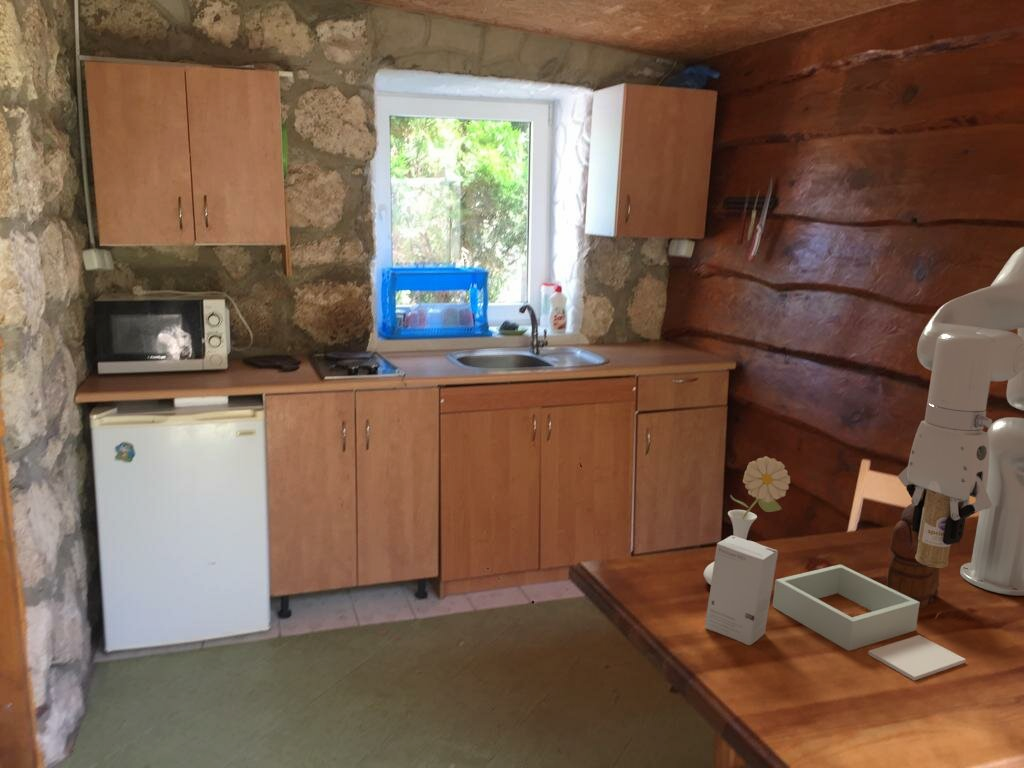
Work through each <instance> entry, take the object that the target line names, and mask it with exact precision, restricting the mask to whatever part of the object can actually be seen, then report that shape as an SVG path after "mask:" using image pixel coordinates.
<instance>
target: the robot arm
mask: <svg viewBox="0 0 1024 768" xmlns="http://www.w3.org/2000/svg"><path fill="white" fill-rule="evenodd" d="M1013 330H1017V333H1014V332H1013ZM916 355H917V359H918V361H919V364H920V365H922V366H923V368H925V369H927V370H929V371H931V375H930V383H929V388H928V394H927V402H926V408H925V416H924V420H921V421H920V423H919V426H918V427H917V430H916V433H915V437H914V438H913V442H912V446H911V449H910V454H909V459H908V464H907V466H906V467H905V468H904V469H903V470H902V471H901V472H900V473H899V474H898V477H897V479H898V480H899V481H900V483H902V485H903V486H904V487H905V489H906V491H907V493H908V495H909V496H910V498H911V500H910V501H911V504H913V505H915V507H914V513H913V520H912V522H913V527H912V531H914V532H919V530H920V524H921V517H922V511H923V506H924V502H925V496H926V489H927V490H928V485H929V484H930V482H931V481H936V482H937V483H938V484H939V487H940V490H941V493H940V494H942V495H944V496H946V497H949V498H950V510H951V517H950V518H947V519H946V524H945V531H944V537H943V542H944V544H947V545H950V544H951V545H953V544H958V543H960V542H961V540H962V538H963V536H964V529H965V523H966V519H968V518H970V517H971V516H972V515H974V514H976V513H978V512H979V514H978V519H977V520H978V521H977V525H976V530H975V531H976V532H975V537H974V544H973V550H972V555H971V561H970V562H967V563H966V562H965V563H964V564H963V565H961V566H960V571H959V572H960V576H961V577H962V579H964V580H965V581H967V582H968V583H969V584H972V585H974V586H975V587H978V588H981V589H983V590H986V591H989V592H993V593H997V594H1001V595H1007V596H1014V597H1015V596H1018V597H1020V596H1021V597H1022V596H1024V418H1023V417H1010V416H1009V417H1008V416H1007V417H1002V418H998V419H997V420H995V421H994V422H993V420H992V418H989V417H988V416H987V410H986V409H987V404H988V400H989V399H988V398H989V393H990V387H991V386H990V385H991V382H1005V381H1007V386H1006V400H1007V403H1009V405H1010V406H1012V407H1013V408H1016V409H1018V410H1020V411H1024V246H1022V247H1020V248H1019V249H1017V250H1016V251H1015V252H1013V254H1012V255H1011V256H1010V258H1008V260H1007V261H1006V262H1005V264H1004V266H1003V267H1002V269H1001V270H1000V272H999V273H998V274H997V275H996V278H995V279H994V280H993V281H992V283H991V284H990V286H987V287H983V288H979V289H978V290H974V291H971V292H969V293H967V294H964V295H962V296H958V297H956V298H954V299H951V300H949V301H948V302H946V303H944V304H943V305H942V306H940V307H939V308H938V309H937V311H936V312H935V313H934V314H933V315H932V316H931V318H930V319H929V321H928V322H927V324H926V325H925V327H924V329H923V330H922V332H921V335H920V336H919V339H918V342H917V347H916ZM985 428H988V429H987V431H984V429H985ZM970 497H972V498H974V499H975V501H974V502H973V503H970ZM951 545H950V546H951Z"/></svg>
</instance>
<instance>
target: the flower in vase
mask: <svg viewBox="0 0 1024 768" xmlns="http://www.w3.org/2000/svg"><path fill="white" fill-rule="evenodd" d="M785 467H786V466H785V464H783V462H781V461H777V459H776V458H770V457H768V456H764V457H759V458H757V459H756V460H753V461H750V462H749V463H748V465H747V466H746V470H745V471H744V475H743V479H742V483H743V484H745V485H744V487H745V489H747V491H748V492H747V493H748V495H749V496H752V497H753V498H755V501H754V502H753V503H752V504H751V506H748V505H747V504H746V503H745V502H743V501H740V500H738V499H736V498H734V497H733V495H732V494H730V498H731V500H733V501H734V502H736V503H738V504H739V505H742V506H743V507H746V508H747V510H744V509H733V510H729V511H728V512H727V515H728V516H729V518H730V521H731V524H732V529H733V533H732V534H733V536H736V537H739V538H742V539H745V540H747V537H748V533H749V531H750V527H751V526H752V524H753V523H754V521H755V520H757V518H758V516H757V514H755V513H753V512H751V510H752V508H753V507H754V506H755V505H756V504H758V506H759V507H760V508H761V510H763V512H767V513H771V512H777V511H781V510H782V506H781V505H780V504H779V503H778V501H777V500H779V499H781V498H783V497H785V496H786V494H787V490H789V489H790V486H789V484H791V476H790V475H789V474H788V473H789V472H788V470H787V469H785ZM713 568H714V561H713V562H711V563H710V564H708V565H707V566H706V567H705V569H704V571H703V577H704V579H705V581H706V582H707V583H708V584H709V585H710V586H711V581H712V574H713Z"/></svg>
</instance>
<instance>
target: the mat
mask: <svg viewBox="0 0 1024 768" xmlns="http://www.w3.org/2000/svg"><path fill="white" fill-rule="evenodd" d="M867 653H868V656H870V657H872V658H874V659H876V660H877V661H879V662H881V663H882V664H885V665H886V666H888V667H890V668H891V669H893V670H894V671H896V672H898V673H900V674H902V675H903V676H905V677H907V678H908V679H910V680H912V681H917V680H919V679H923V678H925V677H929V676H931V675H934V674H936V673H939V672H942V671H946V670H948V669H951V668H954V667H956V666H959V665H962V664H964V663H966V658H965V657H962V656H960V655H958V654H957V653H955V652H953V651H951V650H949V649H947V648H946V647H943V646H941V645H939V644H937V643H936V642H934V641H932V640H929V639H928V638H926V637H923V636H922V635H920V634H917V635H915V636H911V637H909V638H905V639H902V640H899V641H895V642H891V643H889V644H885V645H883V646H880V647H876V648H873V649H870V650H868V652H867Z"/></svg>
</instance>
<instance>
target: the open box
mask: <svg viewBox="0 0 1024 768" xmlns="http://www.w3.org/2000/svg"><path fill="white" fill-rule="evenodd" d="M773 591H774V592H773V598H772V606H771V607H772V608H774V609H776V610H778V611H779V612H781V613H782V614H784V615H786V616H788V617H789V618H790V619H793V620H794V621H796V622H798V623H800V624H802V625H803V626H805V627H807V628H808V629H810V630H811V631H813V632H815V633H817V634H819V635H820V636H822V637H824V638H826V639H827V640H828V641H831V642H832V643H834V644H836V645H838V646H839V647H841V648H842V649H845V650H847V651H848V652H850V651H852V650H856V649H859V648H862V647H865V646H869V645H872V644H876V643H878V642H882V641H885V640H888V639H893V638H896V637H898V636H901V635H906V634H908V633H911V632H914V631H916V630H917V629H916V628H917V623H918V616H919V611H920V610H919V609H920V608H919V605H920V602H918V601H916V600H914V599H912V598H910V597H908V596H906V595H904V594H902V593H899V592H897V591H895V590H893V589H891V588H889V587H887V585H885V584H882V583H880V582H878V581H876V580H874V579H872V578H870V577H868V576H866V575H864V574H861V573H859V572H857V571H855V570H853V569H851V568H849V567H847V566H845V565H843V564H840V563H839V564H837V565H831V566H828V567H827V566H826V567H824V568H819V569H814V570H810V571H807V572H802V573H798V574H794V575H789V576H785V577H781V578H778V579H775V581H774V590H773ZM836 594H838V595H841V596H842V597H844V598H845V599H848V600H850V601H852V602H854V603H856V604H858V605H859V606H862V607H864V608H865V609H867V610H869V611H870V612H865V613H862V614H860V615H856V616H850V615H848V614H847V613H844V612H843V611H840V610H839V609H837V608H836V607H834V606H831V605H829V604H828V603H827V602H824V601H822V600H821V598H822V599H823V598H824V597H829V596H832V595H836Z"/></svg>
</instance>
